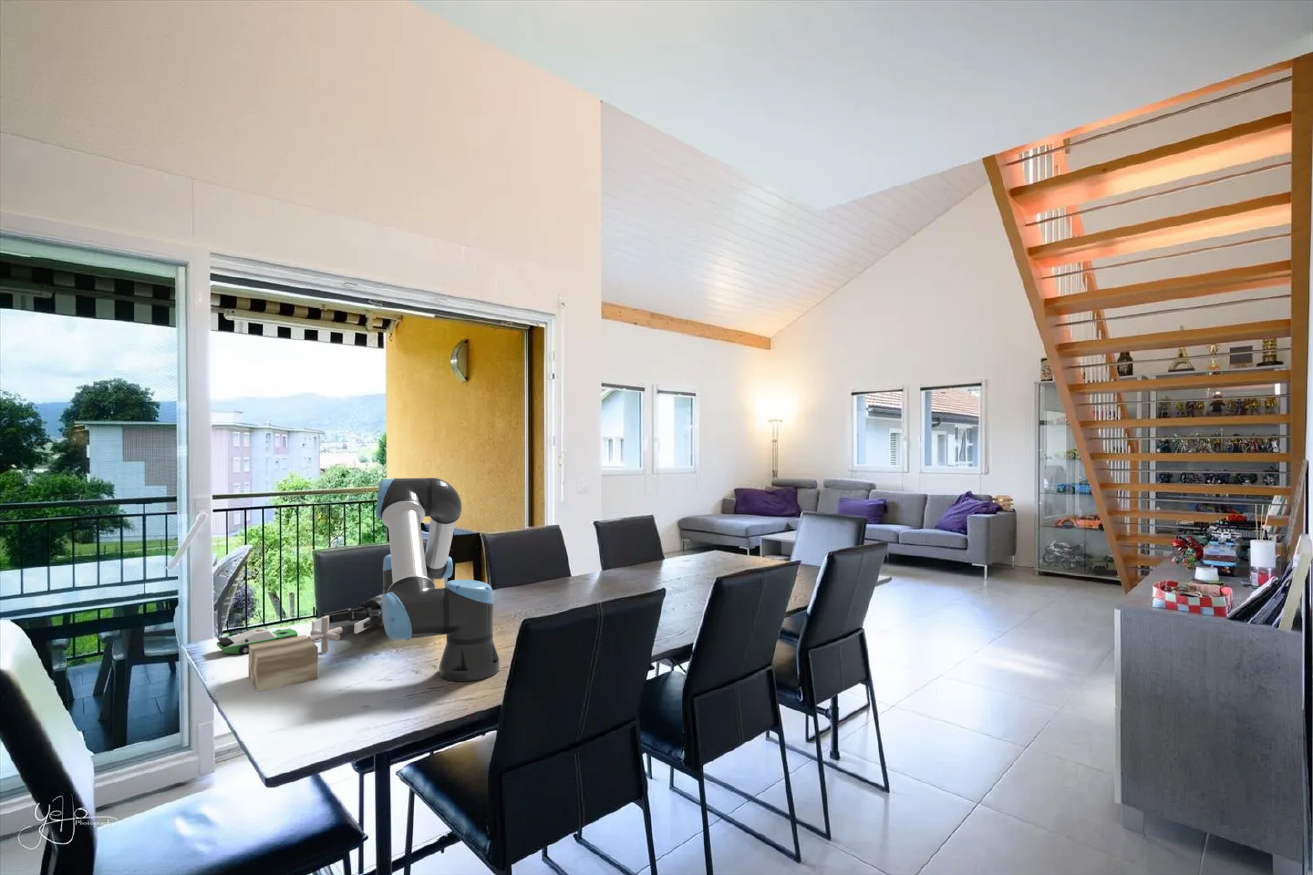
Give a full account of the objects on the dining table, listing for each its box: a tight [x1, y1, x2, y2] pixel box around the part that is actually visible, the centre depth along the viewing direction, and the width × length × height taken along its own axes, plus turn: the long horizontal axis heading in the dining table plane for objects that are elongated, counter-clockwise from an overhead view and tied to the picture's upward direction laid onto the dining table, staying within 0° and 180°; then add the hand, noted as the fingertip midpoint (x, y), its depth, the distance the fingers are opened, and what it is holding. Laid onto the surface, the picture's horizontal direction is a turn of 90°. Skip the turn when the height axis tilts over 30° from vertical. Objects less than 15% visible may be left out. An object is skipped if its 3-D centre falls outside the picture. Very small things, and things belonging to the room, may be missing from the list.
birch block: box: [248, 634, 319, 693], centre depth 163 cm, size 13×13×8 cm
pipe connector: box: [307, 616, 343, 654], centre depth 182 cm, size 10×10×10 cm
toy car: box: [216, 627, 299, 656], centre depth 187 cm, size 10×19×5 cm, turn 135°
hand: (333, 627), depth 186 cm, fingers open, 13 cm apart
